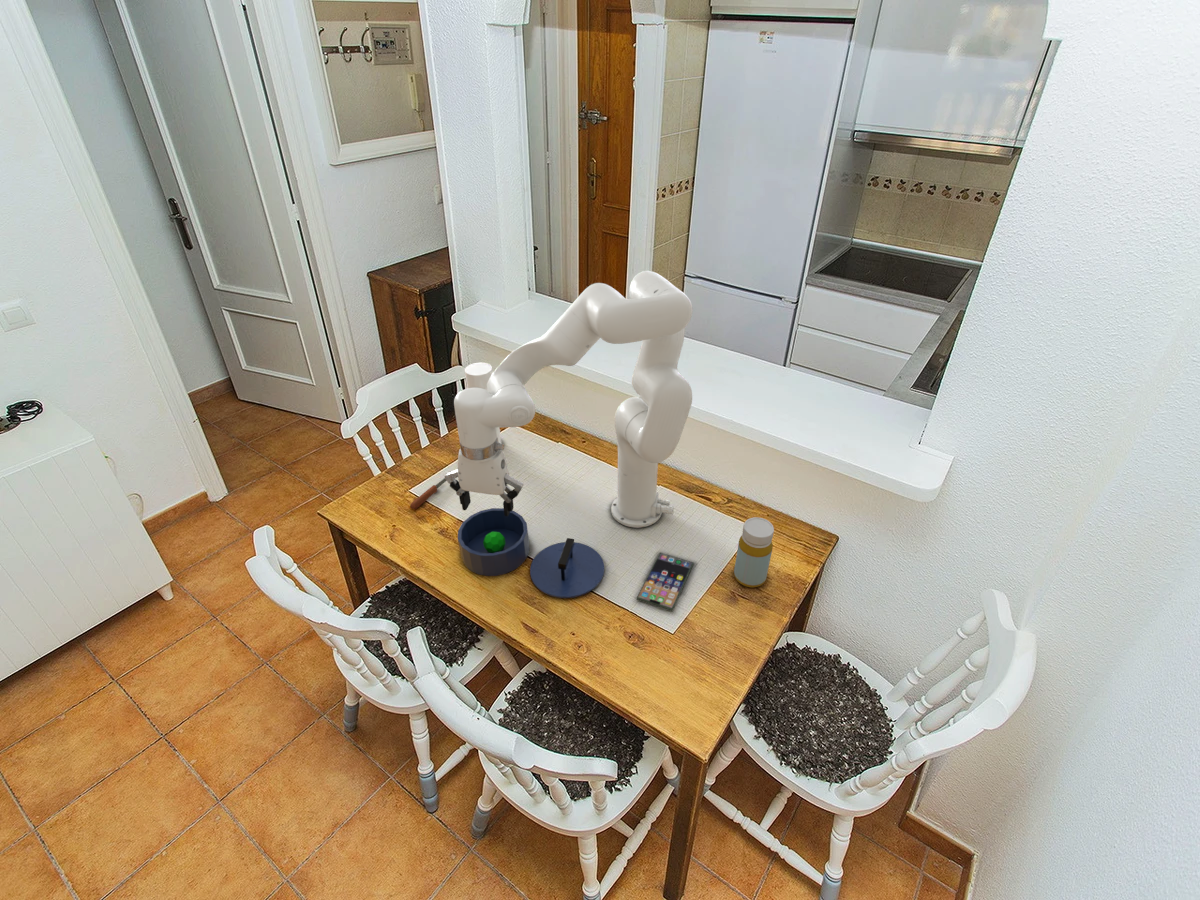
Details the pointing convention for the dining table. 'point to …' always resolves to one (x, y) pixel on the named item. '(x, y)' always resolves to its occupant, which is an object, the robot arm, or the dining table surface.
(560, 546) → the lid
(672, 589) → the smartphone
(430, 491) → the kitchen knife
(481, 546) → the pot
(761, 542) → the bottle
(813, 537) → the dining table surface
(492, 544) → the polyhedron
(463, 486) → the robot arm
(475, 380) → the cylindrical container
